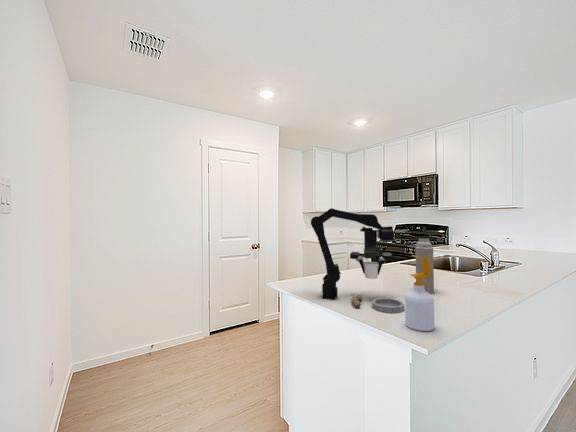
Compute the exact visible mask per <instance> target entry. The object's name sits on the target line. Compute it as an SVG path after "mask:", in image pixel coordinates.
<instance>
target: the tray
mask: <svg viewBox="0 0 576 432" xmlns="http://www.w3.org/2000/svg"><path fill="white" fill-rule="evenodd" d="M371 306H372V307H371V308H372V309H374V310H375V311H377V312H381V313H385V314H400V313H403V312H405V302H403V301H401V300H399V299H394V298H390V297H389V298H388V297H387V298H386V297H382V298H381V297H380V298H379V297H378V298H373V299H372V301H371Z"/></svg>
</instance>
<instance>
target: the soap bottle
mask: <svg viewBox="0 0 576 432" xmlns="http://www.w3.org/2000/svg"><path fill="white" fill-rule="evenodd" d="M411 257H414V258H416V257H417V258H420V259H421V260H422V273H420V274H416V273H410V276H411V277H413V278H414V279H415V281H414V282H413V289H411V290H409V291H408V292H407V293H406V294H405V295H404V312H405V313H404V315H405V325H406V326H407V327H408V328H410V329H412V330H415V331H420V332H430V331H434V330H435V327H436V326H435V299H434V296H433V294H429V293H428V292H426V291H425V290H424V283H422V279H423V277H429V276H430V261H429V260H428V259H425V258H422V257H418V256H416V254H415V255H414V254H411Z"/></svg>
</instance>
